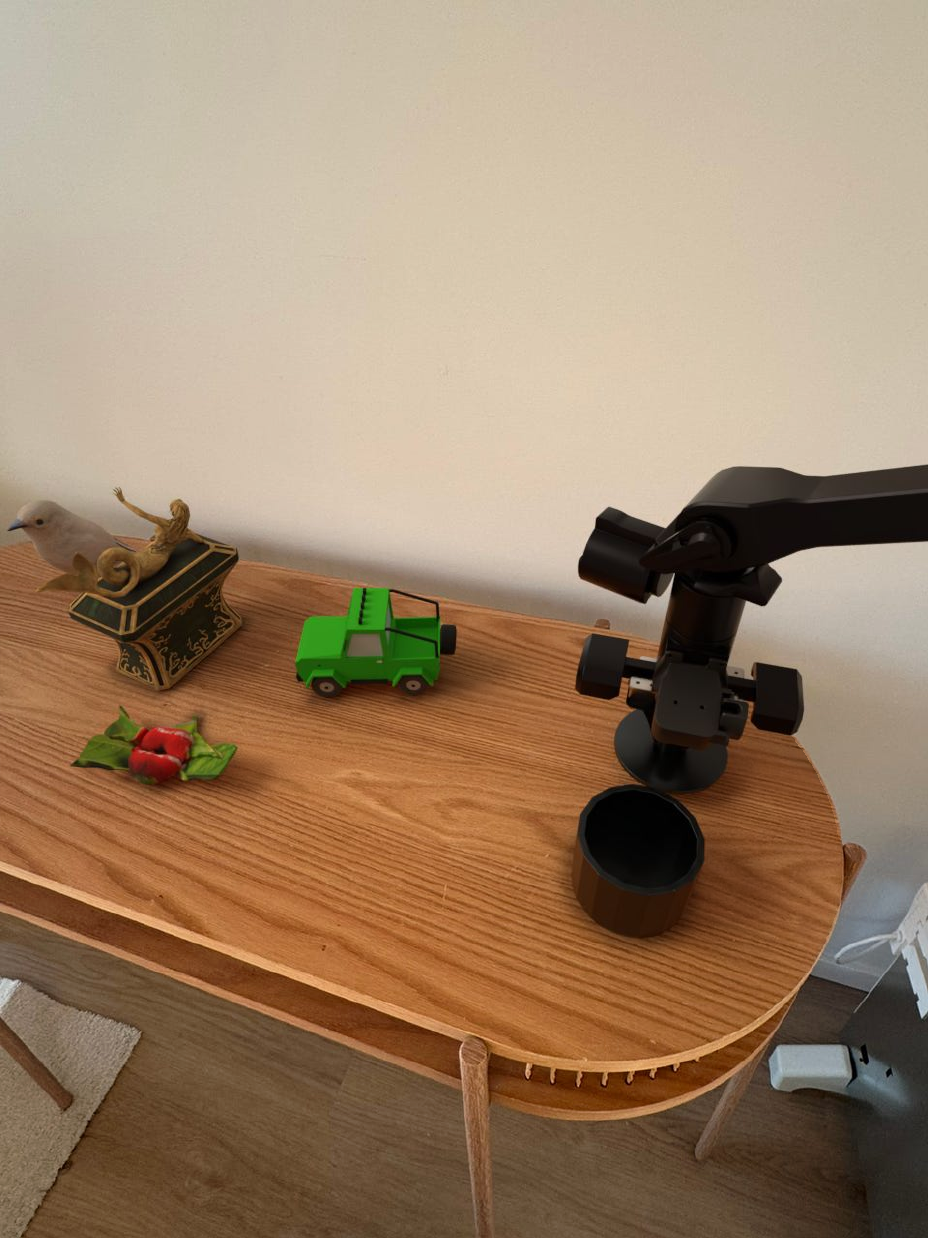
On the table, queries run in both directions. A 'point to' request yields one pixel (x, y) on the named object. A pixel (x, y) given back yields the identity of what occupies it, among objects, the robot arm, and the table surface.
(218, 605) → the decorative box
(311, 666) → the toy car
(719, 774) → the lid
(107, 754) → the decorative ornament
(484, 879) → the table surface
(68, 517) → the bird
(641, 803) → the pot
